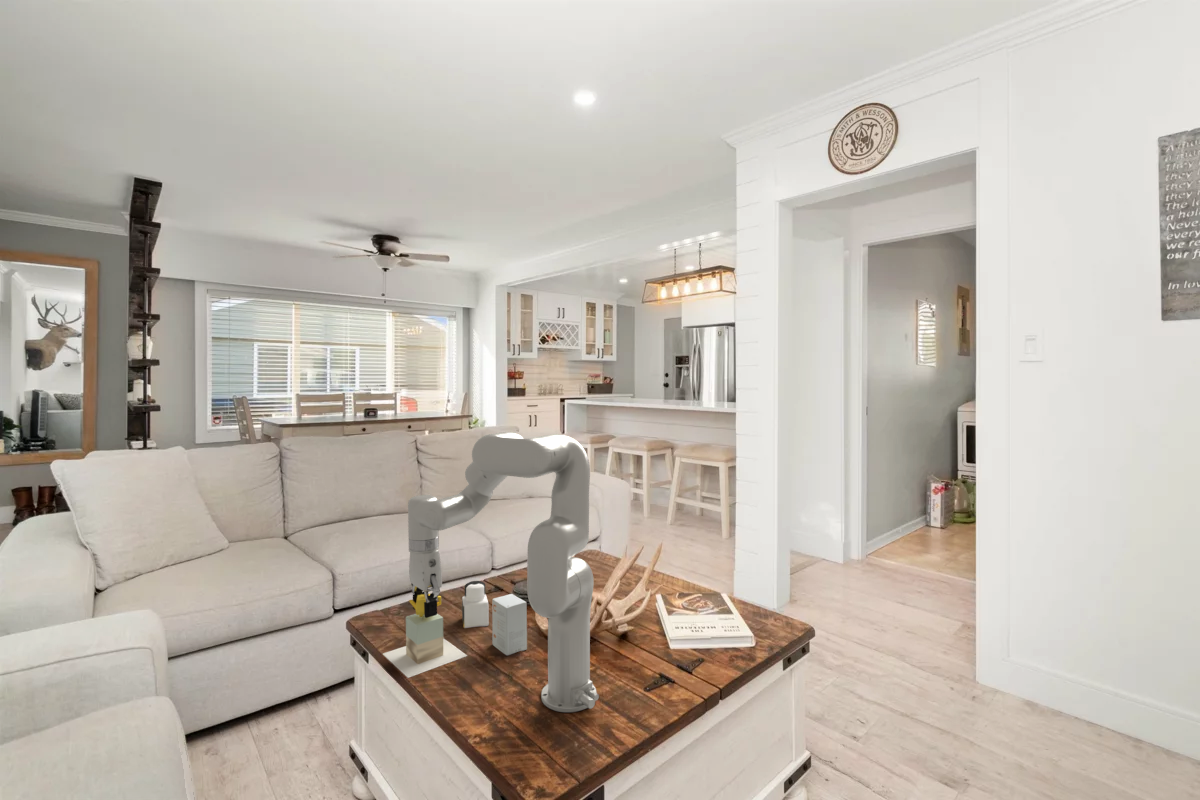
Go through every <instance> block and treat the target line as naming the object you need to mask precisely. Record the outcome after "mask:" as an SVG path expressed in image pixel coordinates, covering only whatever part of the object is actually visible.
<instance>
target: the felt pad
mask: <svg viewBox="0 0 1200 800" xmlns="http://www.w3.org/2000/svg"><path fill="white" fill-rule="evenodd" d="M382 655H383V656H384V657H385V658H386V659H387V661H389V662H390V663H391V664H392V665H394V666H395V668H397V669H398V670H399V671H400V672H401V673H402V675H404V676H405V677H406V678H408V679H409V678H411V677H414V676H417V675H419V674H423V673H425V672H428V671H431V670H434V669H436V668H439V667H441V666H444V665H446V664H447V665H448V664H449V663H451V662H455V661H457V660H461V659H463V658H466V657H468V655H467V654H466V653H464V652H463V651H462V650H460V648H457V647H456V645H453V644H452V643H451V642H450V641H448V640H447V639H445V637H443V655H442V656H440V657H437V658H434V659H431V660H428V661H426V662H423V663H420V664H417V663H416V662H415V661H413V660H412V659H411V658H410V657H409V656H408V655H407V654H406V645H405V646H402V647H398V648H395V649H393V650H389V651H386V652H384V653H382Z"/></svg>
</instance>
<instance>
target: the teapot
mask: <svg viewBox="0 0 1200 800" xmlns="http://www.w3.org/2000/svg"><path fill="white" fill-rule="evenodd" d="M428 594H429V595H430V594H431V593H428ZM408 602H409V603H410V605H412V608H413V607H414V608H415V614H416V615H419V617H422V616H423V615H424V602H426V599H425V594H422V595H417V601H416V603H415V602H414V601H413V599H409V601H408ZM441 605H442V596H441V595H438V601H437V608H438V607H439V606H441Z"/></svg>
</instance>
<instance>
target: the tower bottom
mask: <svg viewBox="0 0 1200 800" xmlns="http://www.w3.org/2000/svg"><path fill="white" fill-rule="evenodd" d="M443 638H444V636H443V637H440V638H437V639H434V640H431V641H428V642H425V643H422V644H419V645H417V644H416V643H415V642H413V641H412V640H411V639H410V638H408V637H407V636H406V635H405V646H406V654H407V655H408V656H409V657H410V658H411V659H412V660H413V661H415V662H416V663H417V664H420V663H423V662H426V661H428V660H431V659H434V658H437V657H440V656H442V655H443Z"/></svg>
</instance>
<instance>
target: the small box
mask: <svg viewBox="0 0 1200 800" xmlns="http://www.w3.org/2000/svg"><path fill="white" fill-rule="evenodd" d="M491 601H492V605H491V606H492V609H491V611H492V619H491V620H492V623H491V624H492V638H491V641H492V643H491V644H492V646H494V647H495V648H496V649H497V650H499V651H500V652H501V653H502V654H504V655H505V656H510V655H513V654H515V653H517V652H520V651H521V652H524V651H525V650H528V628H527V627H528V621H527V619H528V617H527V616H528V615H527V610H528V609H527V608H528V607H527V606H528V605H527V604H528V603H527V601H525V600H524V599H522V598H520V597H518V596H516V595H515V594H513V593H509V594H506V595H502V596H498V597H494V598H492V600H491Z"/></svg>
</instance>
